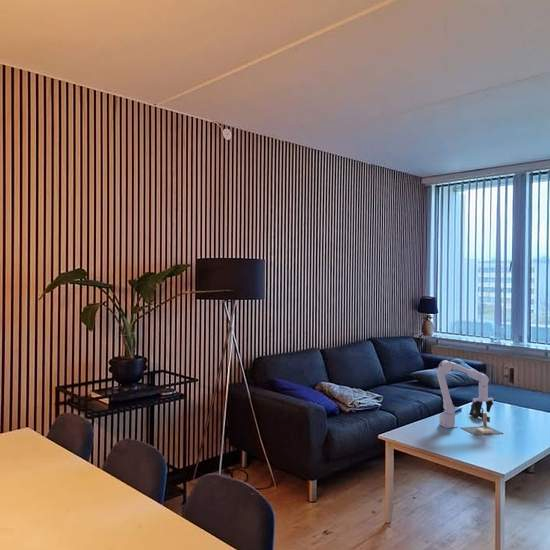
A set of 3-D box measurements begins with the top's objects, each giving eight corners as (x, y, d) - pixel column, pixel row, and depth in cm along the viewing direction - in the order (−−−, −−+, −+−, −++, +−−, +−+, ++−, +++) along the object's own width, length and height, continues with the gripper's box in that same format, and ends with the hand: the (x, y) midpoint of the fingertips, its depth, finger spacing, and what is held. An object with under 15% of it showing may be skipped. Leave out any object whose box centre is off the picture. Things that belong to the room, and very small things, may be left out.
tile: (476, 430, 319) (483, 433, 312) (476, 428, 319) (483, 431, 312) (485, 429, 321) (492, 432, 314) (485, 427, 321) (492, 430, 314)
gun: (492, 402, 339) (473, 393, 351) (486, 424, 342) (468, 414, 354) (494, 402, 340) (476, 392, 352) (488, 423, 344) (470, 413, 356)
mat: (475, 435, 309) (475, 435, 309) (460, 428, 325) (460, 427, 325) (503, 433, 314) (503, 433, 314) (487, 426, 329) (487, 425, 329)
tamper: (483, 428, 323) (483, 414, 323) (480, 426, 327) (481, 412, 327) (488, 428, 324) (489, 413, 324) (485, 426, 327) (485, 412, 327)
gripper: (477, 393, 321) (477, 414, 321) (496, 393, 324) (496, 413, 324) (470, 391, 328) (470, 411, 328) (489, 390, 331) (489, 410, 331)
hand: (483, 412), depth 327 cm, fingers open, 7 cm apart
